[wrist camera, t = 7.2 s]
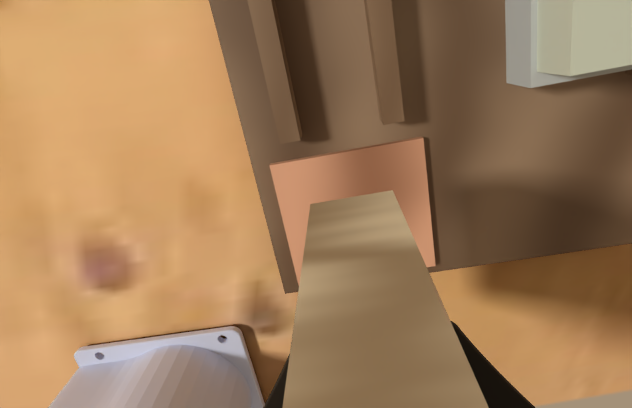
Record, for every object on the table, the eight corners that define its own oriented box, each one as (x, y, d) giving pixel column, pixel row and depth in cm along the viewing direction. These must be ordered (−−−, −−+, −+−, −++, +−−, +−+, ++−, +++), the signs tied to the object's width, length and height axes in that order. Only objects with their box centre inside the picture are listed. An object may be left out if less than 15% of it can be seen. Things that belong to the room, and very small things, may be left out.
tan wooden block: (344, 364, 14) (359, 738, 6) (310, 204, 12) (273, 475, 4) (414, 355, 13) (517, 733, 6) (392, 190, 11) (508, 453, 4)
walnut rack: (287, 282, 20) (282, 308, 18) (193, -87, 15) (170, -109, 13) (619, 232, 19) (654, 256, 17) (659, -203, 13) (721, -250, 11)
